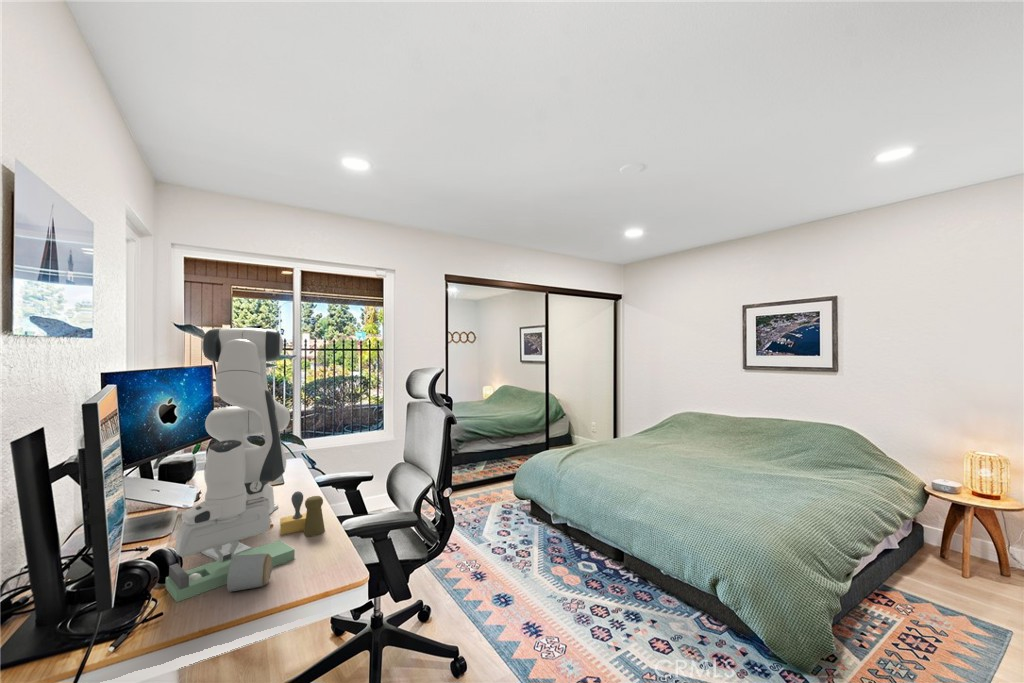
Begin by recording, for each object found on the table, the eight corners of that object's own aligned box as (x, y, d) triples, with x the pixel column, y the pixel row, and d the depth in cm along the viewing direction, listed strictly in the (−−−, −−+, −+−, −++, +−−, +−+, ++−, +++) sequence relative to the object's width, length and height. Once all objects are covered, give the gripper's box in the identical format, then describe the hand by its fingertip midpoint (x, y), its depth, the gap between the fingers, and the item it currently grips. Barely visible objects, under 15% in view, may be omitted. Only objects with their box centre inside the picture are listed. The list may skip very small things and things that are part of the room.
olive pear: (316, 536, 131) (316, 500, 131) (299, 535, 132) (298, 499, 132) (328, 528, 137) (328, 494, 137) (312, 527, 138) (311, 493, 138)
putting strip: (165, 587, 103) (165, 566, 103) (279, 548, 123) (279, 531, 123) (176, 602, 96) (176, 579, 97) (294, 558, 116) (294, 540, 117)
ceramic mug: (266, 591, 100) (266, 557, 101) (225, 598, 98) (226, 564, 98) (275, 571, 110) (275, 540, 111) (239, 577, 108) (239, 546, 108)
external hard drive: (231, 543, 129) (252, 552, 122) (200, 554, 122) (221, 564, 115) (231, 538, 129) (252, 546, 122) (200, 548, 122) (220, 558, 116)
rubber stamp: (280, 535, 133) (280, 496, 133) (280, 529, 138) (280, 491, 138) (315, 528, 138) (315, 491, 138) (314, 522, 143) (313, 486, 143)
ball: (185, 588, 103) (183, 575, 103) (201, 580, 105) (198, 568, 105) (188, 593, 101) (186, 580, 100) (204, 585, 103) (202, 572, 103)
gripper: (265, 493, 119) (265, 543, 118) (173, 515, 103) (173, 573, 103) (274, 497, 115) (274, 549, 114) (180, 520, 99) (180, 581, 99)
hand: (226, 560), depth 108 cm, fingers closed
